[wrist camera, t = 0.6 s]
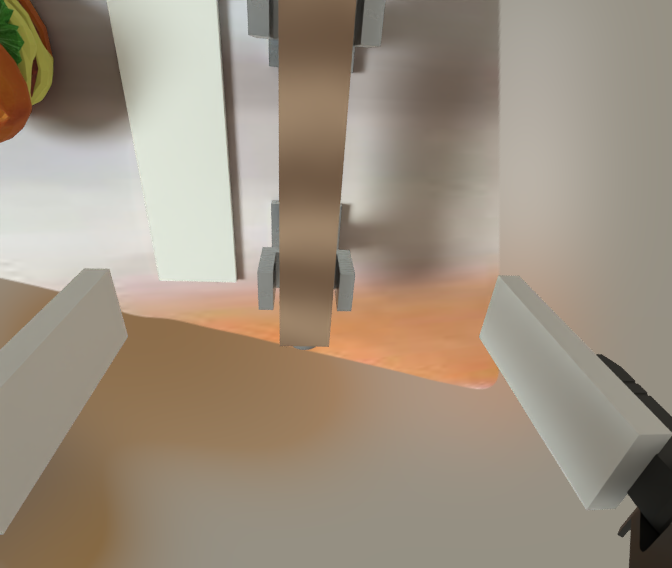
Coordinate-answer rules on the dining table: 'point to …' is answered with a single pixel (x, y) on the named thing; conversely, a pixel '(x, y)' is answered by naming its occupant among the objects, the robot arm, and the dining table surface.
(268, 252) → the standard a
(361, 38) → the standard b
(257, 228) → the dining table surface
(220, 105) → the white plank
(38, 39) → the cheeseburger
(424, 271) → the dining table surface
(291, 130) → the rail
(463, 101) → the dining table surface
